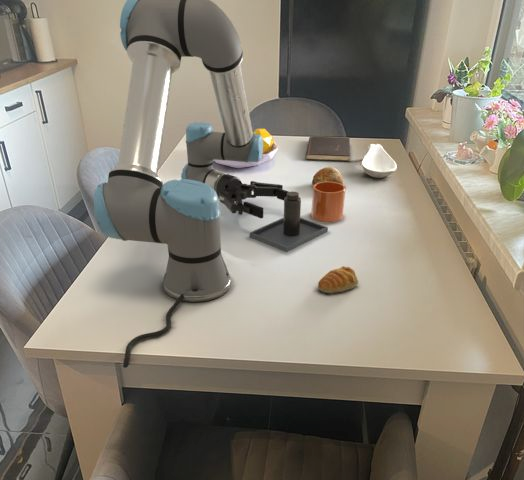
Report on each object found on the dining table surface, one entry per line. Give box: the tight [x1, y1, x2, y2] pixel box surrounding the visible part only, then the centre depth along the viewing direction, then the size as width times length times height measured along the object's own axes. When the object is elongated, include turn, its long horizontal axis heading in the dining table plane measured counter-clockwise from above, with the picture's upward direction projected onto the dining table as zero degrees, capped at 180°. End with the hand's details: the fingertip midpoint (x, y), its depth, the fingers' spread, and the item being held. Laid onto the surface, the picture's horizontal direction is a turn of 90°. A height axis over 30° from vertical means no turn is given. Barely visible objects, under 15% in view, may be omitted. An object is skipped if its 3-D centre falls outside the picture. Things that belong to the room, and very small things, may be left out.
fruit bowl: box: [213, 127, 279, 169], centre depth 195 cm, size 28×27×11 cm
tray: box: [249, 217, 329, 253], centre depth 147 cm, size 17×13×2 cm
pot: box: [311, 182, 346, 223], centre depth 155 cm, size 9×9×9 cm
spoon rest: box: [361, 143, 398, 179], centre depth 189 cm, size 24×12×7 cm, turn 0°
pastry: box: [317, 265, 359, 294], centre depth 124 cm, size 9×7×4 cm
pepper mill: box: [283, 191, 302, 236], centre depth 144 cm, size 4×4×11 cm
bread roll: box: [311, 166, 344, 186], centre depth 176 cm, size 10×10×8 cm
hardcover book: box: [305, 135, 351, 163], centre depth 207 cm, size 16×23×2 cm
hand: (279, 206), depth 146 cm, fingers open, 13 cm apart
